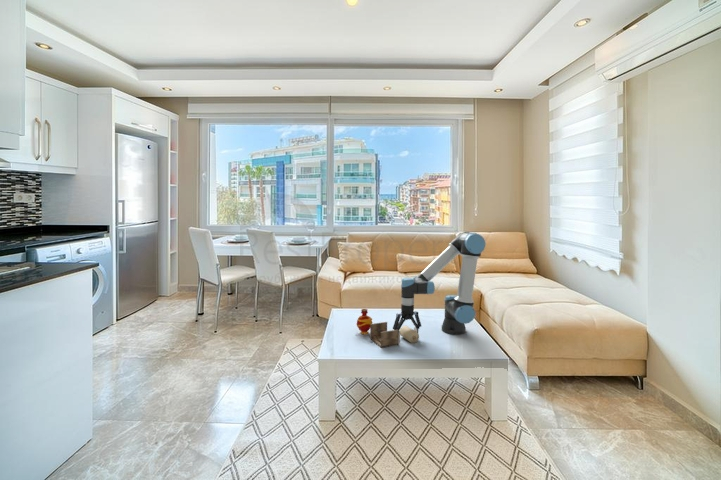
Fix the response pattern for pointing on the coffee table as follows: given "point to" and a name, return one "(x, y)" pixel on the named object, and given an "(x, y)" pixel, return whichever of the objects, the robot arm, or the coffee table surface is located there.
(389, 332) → the holder
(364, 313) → the potion bottle
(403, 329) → the roll
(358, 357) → the coffee table surface
